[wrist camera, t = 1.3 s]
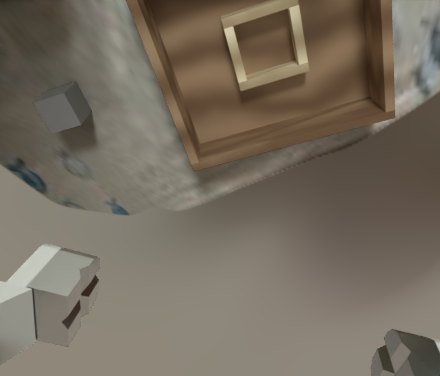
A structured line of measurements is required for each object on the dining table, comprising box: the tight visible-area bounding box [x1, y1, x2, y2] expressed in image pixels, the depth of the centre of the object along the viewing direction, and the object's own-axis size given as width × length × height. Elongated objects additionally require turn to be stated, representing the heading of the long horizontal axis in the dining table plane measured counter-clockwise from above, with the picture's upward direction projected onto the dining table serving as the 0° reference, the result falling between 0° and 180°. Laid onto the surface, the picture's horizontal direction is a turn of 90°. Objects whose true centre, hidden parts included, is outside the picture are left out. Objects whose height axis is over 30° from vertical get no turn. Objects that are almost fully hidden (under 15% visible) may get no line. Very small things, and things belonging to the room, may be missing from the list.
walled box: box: [126, 0, 395, 171], centre depth 39 cm, size 22×24×6 cm
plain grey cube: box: [33, 81, 92, 134], centre depth 44 cm, size 4×4×4 cm
